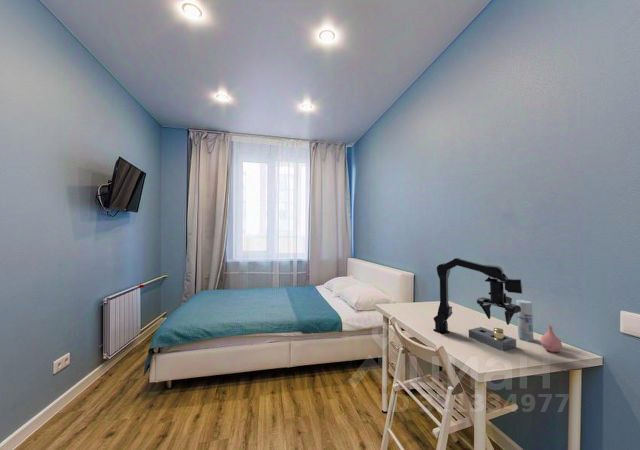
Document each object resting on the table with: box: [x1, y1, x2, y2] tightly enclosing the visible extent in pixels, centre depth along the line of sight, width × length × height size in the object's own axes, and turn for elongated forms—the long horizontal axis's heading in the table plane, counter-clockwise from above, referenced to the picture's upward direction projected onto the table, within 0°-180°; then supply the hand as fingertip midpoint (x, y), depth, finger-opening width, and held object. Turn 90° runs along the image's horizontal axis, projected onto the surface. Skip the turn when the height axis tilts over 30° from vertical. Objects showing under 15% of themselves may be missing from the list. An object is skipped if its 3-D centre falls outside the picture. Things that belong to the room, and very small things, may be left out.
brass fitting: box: [493, 327, 505, 340], centre depth 126 cm, size 4×4×8 cm
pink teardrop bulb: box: [540, 324, 563, 353], centre depth 119 cm, size 8×8×12 cm
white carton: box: [516, 299, 534, 342], centre depth 133 cm, size 6×6×20 cm
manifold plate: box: [468, 326, 517, 352], centre depth 130 cm, size 10×18×4 cm, turn 22°
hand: (498, 321), depth 127 cm, fingers open, 9 cm apart
